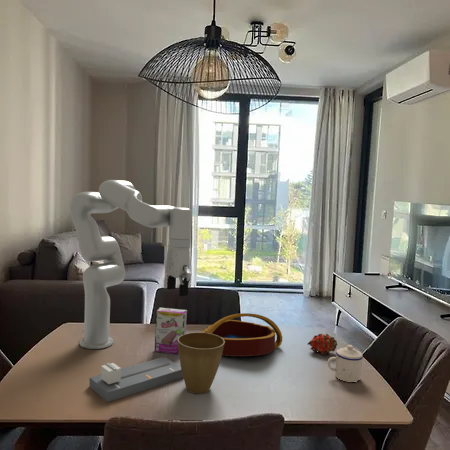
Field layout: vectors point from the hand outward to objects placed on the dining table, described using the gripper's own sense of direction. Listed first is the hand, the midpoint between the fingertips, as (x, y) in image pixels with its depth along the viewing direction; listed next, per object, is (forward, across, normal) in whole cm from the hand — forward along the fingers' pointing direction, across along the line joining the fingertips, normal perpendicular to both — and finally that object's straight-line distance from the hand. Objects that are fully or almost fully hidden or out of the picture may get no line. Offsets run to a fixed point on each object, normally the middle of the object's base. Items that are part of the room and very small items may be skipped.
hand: (177, 292), depth 149 cm
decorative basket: (+28, -4, +32) cm, 43 cm away
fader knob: (+24, +7, -25) cm, 35 cm away
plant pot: (+27, +17, +1) cm, 32 cm away
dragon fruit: (+27, +12, +60) cm, 67 cm away
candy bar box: (+27, -14, +5) cm, 31 cm away
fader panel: (+27, +5, -15) cm, 31 cm away
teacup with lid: (+27, +32, +50) cm, 66 cm away
